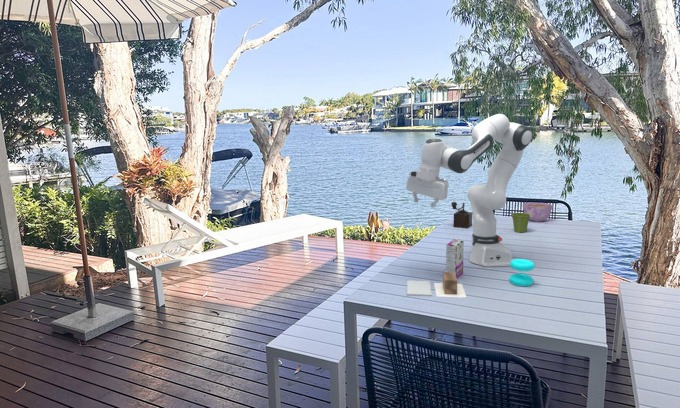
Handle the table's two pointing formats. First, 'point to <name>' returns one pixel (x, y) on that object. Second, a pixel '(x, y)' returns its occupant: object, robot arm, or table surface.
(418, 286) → the grey mat
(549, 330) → the table surface
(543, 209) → the bowl of food
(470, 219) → the manual coffee grinder
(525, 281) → the donuts
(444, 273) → the walnut block
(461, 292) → the plate
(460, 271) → the candy bar box
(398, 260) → the table surface
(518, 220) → the plant pot
